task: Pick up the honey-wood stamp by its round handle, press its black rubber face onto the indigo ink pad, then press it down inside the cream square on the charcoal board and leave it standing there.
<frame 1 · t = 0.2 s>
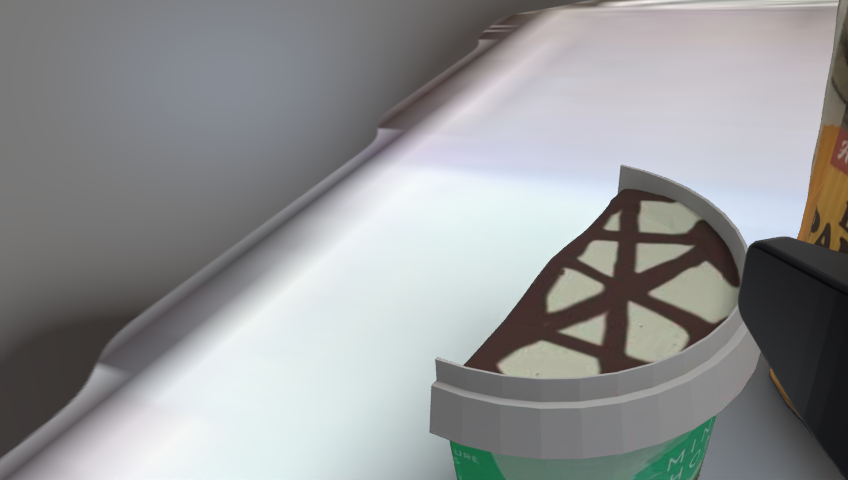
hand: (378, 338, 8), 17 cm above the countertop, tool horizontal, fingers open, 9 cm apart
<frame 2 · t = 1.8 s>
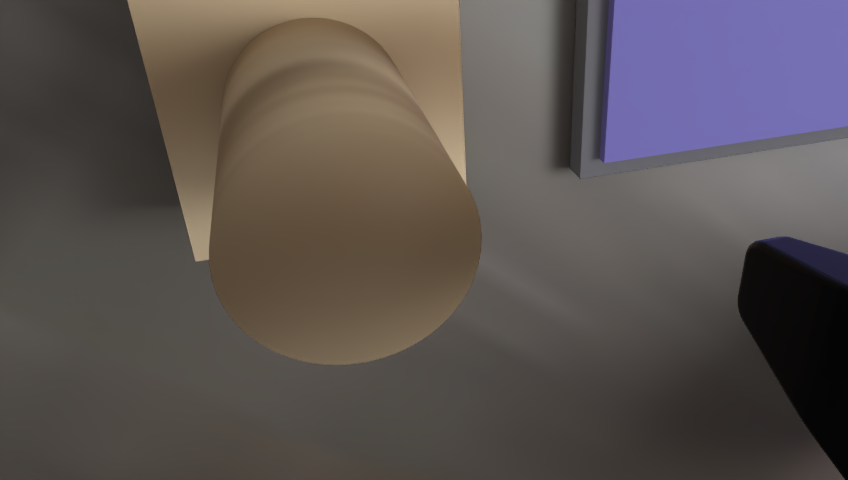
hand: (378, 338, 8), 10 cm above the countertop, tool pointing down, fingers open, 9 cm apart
stamp: (306, 69, 17), on the countertop
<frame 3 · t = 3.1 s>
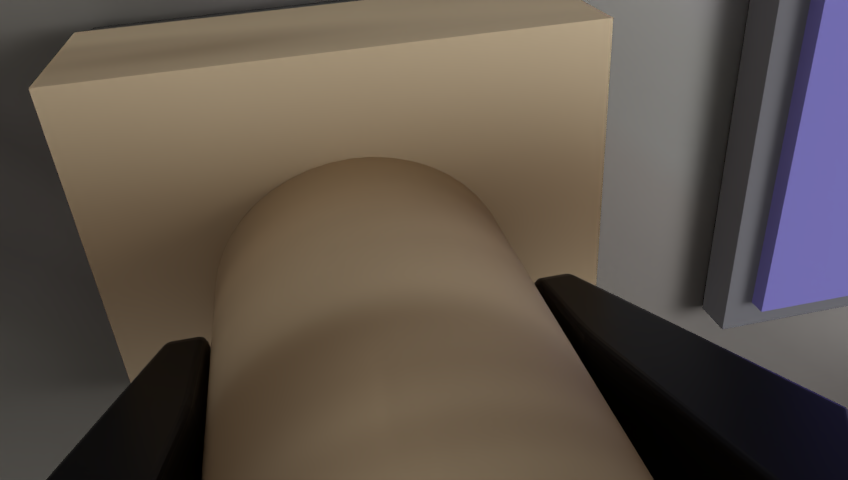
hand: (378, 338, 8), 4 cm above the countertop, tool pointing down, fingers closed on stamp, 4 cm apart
stamp: (342, 194, 11), on the countertop, touching gripper
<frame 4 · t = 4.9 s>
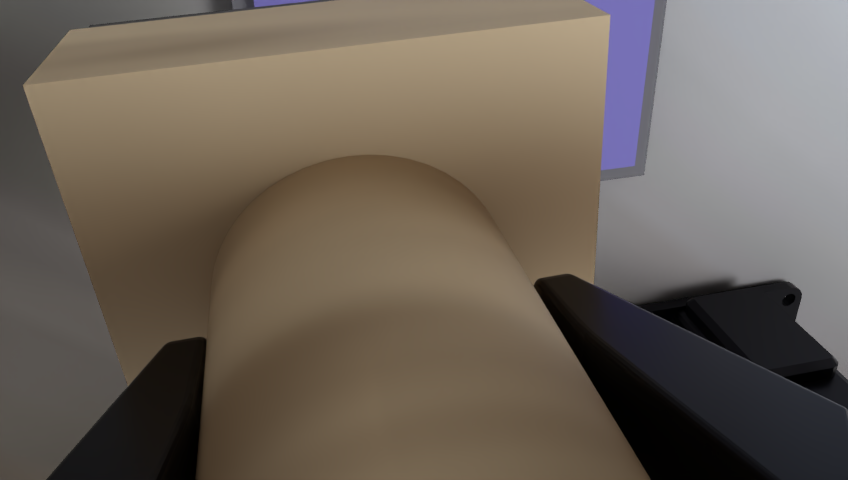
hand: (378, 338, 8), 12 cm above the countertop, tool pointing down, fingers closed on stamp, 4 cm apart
stamp: (340, 192, 11), point 8 cm above the countertop, touching gripper
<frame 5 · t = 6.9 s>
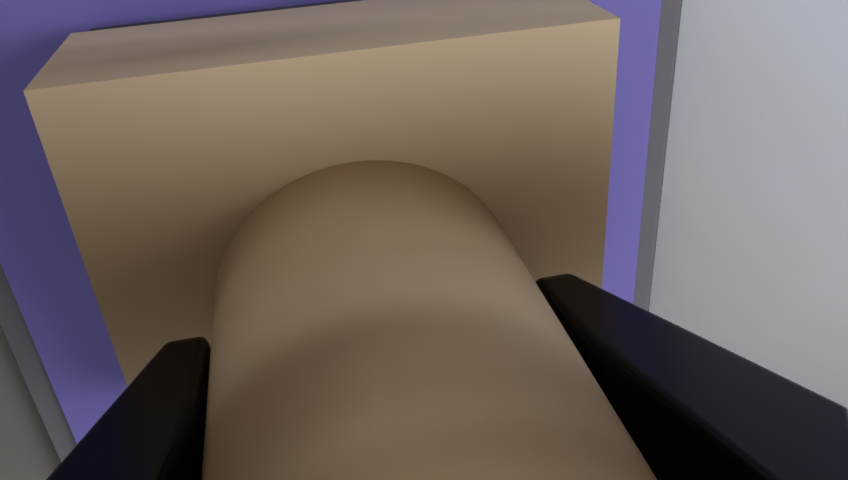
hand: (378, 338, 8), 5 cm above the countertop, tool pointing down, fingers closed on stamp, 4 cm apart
stamp: (344, 197, 11), point 1 cm above the countertop, touching gripper, ink pad
ink pad: (334, 170, 12), on the countertop
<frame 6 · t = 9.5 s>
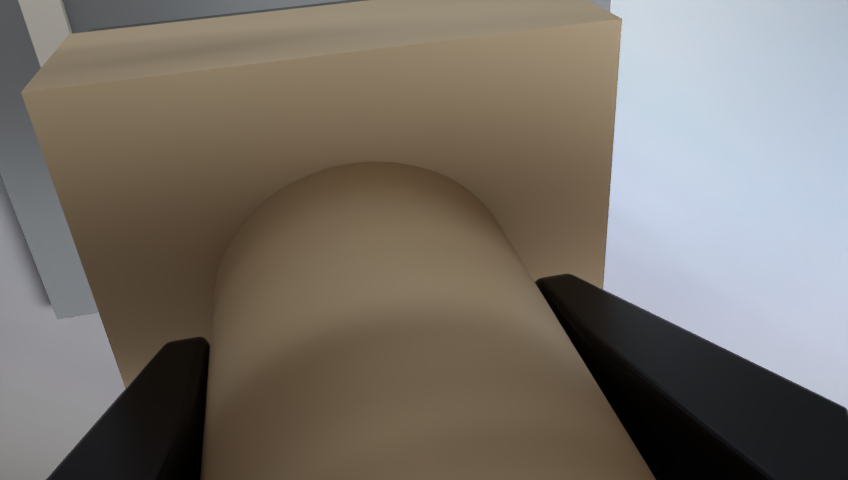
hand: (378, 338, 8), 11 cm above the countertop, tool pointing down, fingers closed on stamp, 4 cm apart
stamp: (344, 198, 11), point 8 cm above the countertop, touching gripper
marked board: (307, 52, 18), on the countertop
when the fingers open (4 cm above the countertop, at t = 11.0 s): stamp stays where it is, resting on marked board.
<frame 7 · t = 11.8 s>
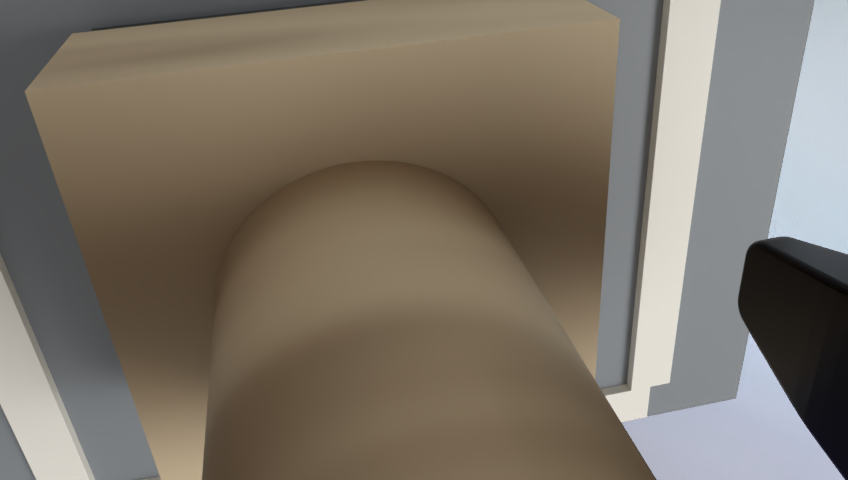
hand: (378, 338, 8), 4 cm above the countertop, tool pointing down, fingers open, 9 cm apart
stamp: (344, 196, 11), point 1 cm above the countertop, touching marked board
marked board: (339, 179, 12), on the countertop
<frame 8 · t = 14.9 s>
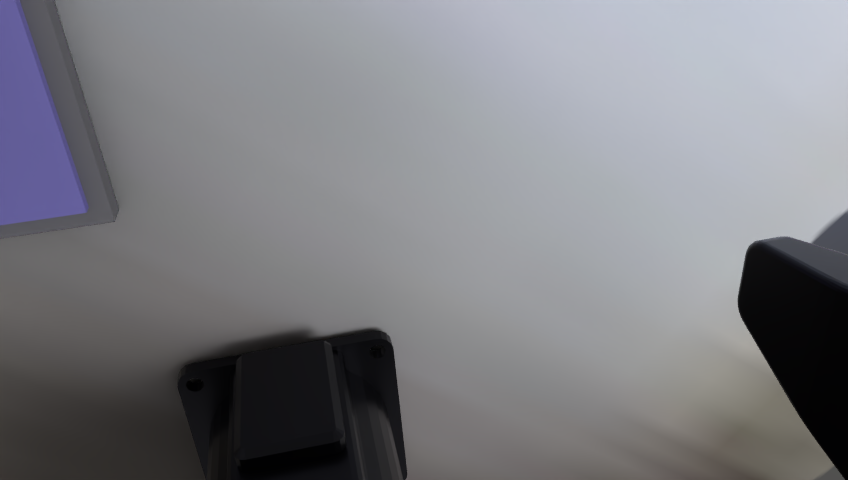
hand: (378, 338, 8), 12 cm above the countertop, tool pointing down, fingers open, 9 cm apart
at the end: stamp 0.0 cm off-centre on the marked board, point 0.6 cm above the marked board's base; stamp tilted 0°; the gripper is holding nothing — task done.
